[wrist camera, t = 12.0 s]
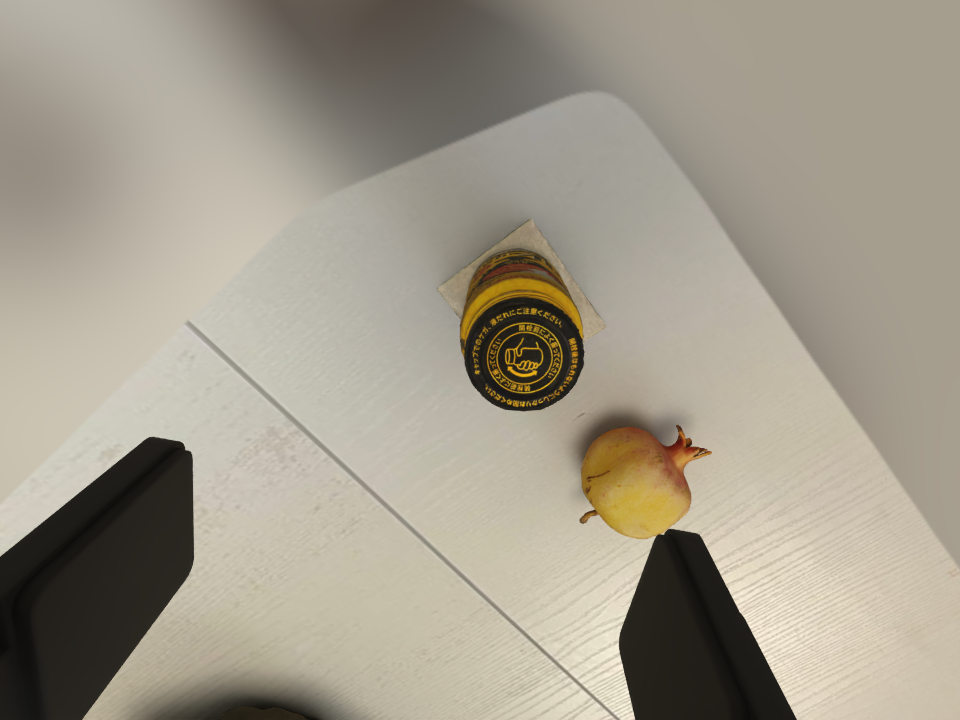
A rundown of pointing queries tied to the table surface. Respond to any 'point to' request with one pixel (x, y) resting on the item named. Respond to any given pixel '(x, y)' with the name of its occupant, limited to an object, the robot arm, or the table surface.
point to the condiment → (521, 322)
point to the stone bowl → (260, 714)
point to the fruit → (638, 481)
